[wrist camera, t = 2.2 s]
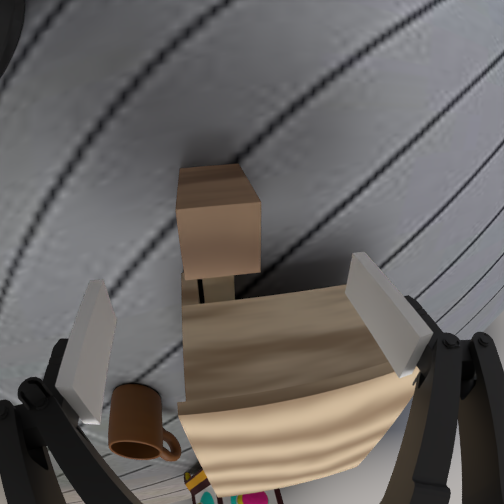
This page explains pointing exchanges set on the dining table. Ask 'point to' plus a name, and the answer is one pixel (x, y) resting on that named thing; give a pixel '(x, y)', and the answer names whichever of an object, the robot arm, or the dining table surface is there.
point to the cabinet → (283, 388)
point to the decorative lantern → (207, 499)
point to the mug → (139, 425)
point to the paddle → (218, 227)
